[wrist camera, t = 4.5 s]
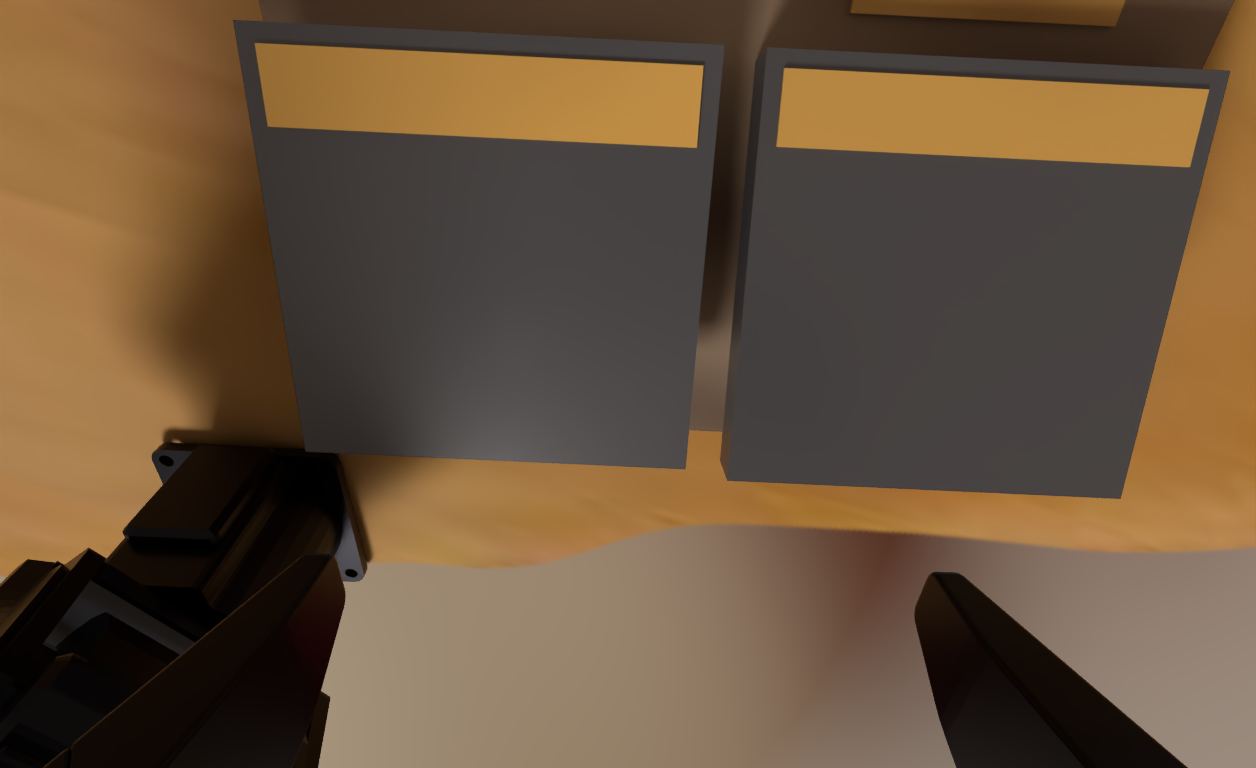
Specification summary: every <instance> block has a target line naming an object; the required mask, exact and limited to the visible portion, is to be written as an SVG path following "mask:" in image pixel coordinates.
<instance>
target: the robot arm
mask: <svg viewBox="0 0 1256 768" xmlns="http://www.w3.org/2000/svg"><path fill="white" fill-rule="evenodd" d="M152 461H153V463H154V465H155V467H156V470H157V472H158V474H159V476H160V478H161V480H162V483H163V485H162V487H161V488H160V489H159V490H158V491H157V492H156V493H155V494H154V496H153V497H152V498H151V499H150V500H149V501H148V502H147V503H146V504H145V506H144V507H143V508H142V509H141V510H140V511H139V512H138V513H137V515H136V516H135V517H134V518H133V519H132V520H131V521H130V522H129V523H128V525H127V526H126V527H125V528H124V530H123V534H124V536H125V538H124V540H123V541H122V542H121V543H120V544H119V545H118V546H117V548H116V549H115V550H114V551H113V552H112V553H111V554H110V556H109V557H108V558H107V559H106V558H105V557H103V556H102V555H100V554H98V553H97V552H95V551H93V550H92V549H90V548H87V549H86V550H85V551H83V552H82V553H80V554H79V555H78V556H76V557H75V558H73V559H72V560H71V561H69V562H68V563H67V564H65V565H64V564H62V563H60V562H59V561H57V562H55V563H54V562H46V561H37V560H29V559H28V560H26V561H25V562H24V563H22V564H21V565H20V566H18V567H17V568H16V569H15V570H14V571H13V572H12V573H11V574H10V575H9V576H8V577H7V578H6V579H5V580H4V581H3V582H2V583H1V584H0V768H318V764H319V758H320V753H321V747H322V742H323V736H324V731H325V724H326V719H327V714H328V708H329V702H330V697H329V696H328V695H326V694H325V693H323V692H322V691H321V688H322V685H323V681H324V678H325V674H326V670H327V667H328V663H329V660H330V656H331V652H332V648H333V645H334V641H335V638H336V634H337V630H338V627H339V623H340V620H341V616H342V612H343V609H344V605H345V588H344V584H343V581H350V582H355V581H360V580H362V579H363V577H364V575H365V573H366V571H367V563H366V559H365V555H364V551H363V547H362V543H361V539H360V535H359V531H358V527H357V524H356V520H355V516H354V512H353V508H352V504H351V500H350V496H349V492H348V488H347V484H346V480H345V476H344V472H343V468H342V464H341V461H340V459H339V457H338V456H337V455H336V454H334V453H324V452H305V449H290V448H269V447H247V446H226V445H204V444H182V443H163V444H162V445H160V446H159V447H158V448H157V449H156V450H155V451H154V452H153V454H152ZM322 463H325V464H326V465H328V466H324V465H323V464H322ZM915 623H916V628H917V632H918V636H919V639H920V644H921V648H922V652H923V656H924V660H925V664H926V668H927V672H928V676H929V680H930V684H931V689H932V692H933V697H934V701H935V704H936V708H937V712H938V716H939V719H940V722H941V725H942V728H943V731H944V734H945V737H946V740H947V743H948V745H949V748H950V751H951V754H952V757H953V759H954V762H955V765H956V768H1188V767H1186V766H1185V765H1184V764H1183V763H1181V762H1180V761H1179V760H1178V759H1177V758H1176V757H1175V756H1173V755H1172V754H1171V753H1170V752H1169V751H1168V750H1166V749H1165V748H1164V747H1163V746H1162V745H1161V744H1159V743H1158V742H1157V741H1156V740H1155V739H1153V738H1152V737H1151V736H1150V735H1149V734H1148V733H1147V732H1145V731H1144V730H1143V729H1142V728H1141V727H1140V726H1138V725H1137V724H1136V723H1135V722H1134V721H1132V720H1131V719H1130V718H1129V717H1127V715H1125V714H1124V713H1123V712H1122V711H1121V710H1120V709H1118V708H1117V707H1116V706H1115V705H1114V704H1113V703H1111V702H1110V701H1109V700H1108V699H1107V698H1105V697H1104V696H1103V695H1102V694H1101V693H1100V692H1099V691H1097V690H1096V689H1095V688H1094V687H1093V686H1091V685H1090V684H1089V683H1088V682H1087V681H1086V680H1084V679H1083V678H1082V677H1081V676H1080V675H1078V674H1077V673H1076V672H1075V671H1074V670H1073V669H1072V668H1070V667H1069V666H1068V665H1067V664H1066V663H1065V662H1063V661H1062V660H1061V659H1060V658H1059V657H1057V656H1056V655H1055V654H1054V653H1053V652H1052V651H1051V650H1049V649H1048V648H1047V647H1046V646H1045V645H1043V644H1042V643H1041V642H1040V641H1039V640H1038V639H1036V638H1035V637H1034V636H1033V635H1031V633H1029V632H1028V631H1027V630H1026V629H1024V627H1022V626H1021V625H1020V624H1019V623H1018V622H1017V621H1015V620H1014V619H1013V618H1012V617H1011V616H1009V615H1008V614H1007V613H1006V612H1005V611H1004V610H1002V609H1001V608H1000V607H999V606H998V605H997V604H995V603H994V602H993V601H992V600H991V599H990V598H988V597H987V596H986V595H985V594H984V593H983V592H981V591H980V590H979V589H978V588H977V587H976V586H974V585H973V584H972V583H971V582H970V581H969V580H967V579H966V578H965V577H964V576H962V575H960V574H958V573H954V572H933V573H931V574H930V575H929V576H928V578H927V580H926V582H925V584H924V587H923V589H922V592H921V594H920V596H919V599H918V601H917V604H916V607H915Z"/></svg>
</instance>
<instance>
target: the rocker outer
mask: <svg viewBox="0 0 1256 768" xmlns="http://www.w3.org/2000/svg"><path fill="white" fill-rule="evenodd" d="M1229 74H1230V71H1224V70H1204V69H1184V68H1164V67H1145V66H1125V65H1105V64H1085V63H1066V62H1046V61H1026V60H1007V59H987V58H967V57H947V56H928V55H908V54H888V53H868V52H849V51H829V50H809V49H790V48H770V47H767V48H766V49H765V51H764V52H763V53H762V54H761V55H760V56H759V58H758V59H757V60H756V61H755V71H754V83H753V94H752V105H751V117H750V128H749V139H748V151H747V162H746V173H745V185H744V196H743V207H742V219H741V230H740V241H739V253H738V264H737V275H736V287H735V298H734V309H733V321H732V332H731V343H730V355H729V366H728V377H727V389H726V400H725V411H724V423H723V434H722V445H721V457H720V461H721V464H722V467H723V470H724V473H725V475H726V478H727V481H747V482H768V483H790V484H812V485H833V486H855V487H877V488H898V489H920V490H942V491H963V492H985V493H1007V494H1028V495H1050V496H1072V497H1093V498H1115V499H1121V495H1122V491H1123V487H1124V483H1125V479H1126V475H1127V471H1128V468H1129V464H1130V460H1131V456H1132V452H1133V448H1134V444H1135V440H1136V436H1137V432H1138V429H1139V425H1140V421H1141V417H1142V413H1143V409H1144V405H1145V401H1146V397H1147V393H1148V390H1149V386H1150V382H1151V378H1152V374H1153V370H1154V366H1155V362H1156V358H1157V354H1158V350H1159V347H1160V343H1161V339H1162V335H1163V331H1164V327H1165V323H1166V319H1167V315H1168V311H1169V308H1170V304H1171V300H1172V296H1173V292H1174V288H1175V284H1176V280H1177V276H1178V272H1179V269H1180V265H1181V261H1182V257H1183V253H1184V249H1185V245H1186V241H1187V237H1188V233H1189V230H1190V226H1191V222H1192V218H1193V214H1194V210H1195V206H1196V202H1197V198H1198V194H1199V191H1200V187H1201V183H1202V179H1203V175H1204V171H1205V167H1206V163H1207V159H1208V155H1209V152H1210V148H1211V144H1212V140H1213V136H1214V132H1215V128H1216V124H1217V120H1218V116H1219V113H1220V109H1221V105H1222V101H1223V97H1224V93H1225V89H1226V85H1227V81H1228V77H1229Z"/></svg>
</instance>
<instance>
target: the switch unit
mask: <svg viewBox="0 0 1256 768" xmlns="http://www.w3.org/2000/svg"><path fill="white" fill-rule="evenodd" d="M1233 2H1234V0H259V3H260V7H261V12H262V16H263V20H264V22H280V23H300V24H320V25H340V26H359V27H379V28H399V29H419V30H438V31H458V32H478V33H497V34H517V35H537V36H557V37H576V38H596V39H616V40H636V41H655V42H675V43H695V44H715V45H725V46H724V57H723V68H722V79H721V90H720V100H719V111H718V122H717V133H716V144H715V154H714V165H713V176H712V187H711V198H710V208H709V219H708V230H707V241H706V251H705V262H704V273H703V284H702V295H701V305H700V316H699V327H698V338H697V349H696V359H695V370H694V381H693V392H692V403H691V413H690V424H689V430H699V431H720V432H723V423H724V411H725V400H726V389H727V377H728V366H729V355H730V343H731V332H732V321H733V309H734V298H735V287H736V275H737V264H738V253H739V241H740V230H741V219H742V207H743V196H744V185H745V173H746V162H747V151H748V139H749V128H750V117H751V105H752V94H753V83H754V71H755V61H756V60H757V59H758V58H759V56H760V55H761V54H762V53H763V52H764V51H765V49H766V48H767V47H770V48H790V49H809V50H829V51H849V52H868V53H888V54H908V55H928V56H947V57H967V58H987V59H1007V60H1026V61H1046V62H1066V63H1085V64H1105V65H1125V66H1145V67H1164V68H1184V69H1202V68H1203V66H1204V64H1205V62H1206V59H1207V57H1208V55H1209V53H1210V51H1211V49H1212V47H1213V45H1214V43H1215V40H1216V38H1217V36H1218V34H1219V32H1220V30H1221V28H1222V26H1223V24H1224V21H1225V19H1226V17H1227V15H1228V13H1229V11H1230V9H1231V7H1232V5H1233Z"/></svg>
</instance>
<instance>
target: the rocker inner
mask: <svg viewBox="0 0 1256 768" xmlns="http://www.w3.org/2000/svg"><path fill="white" fill-rule="evenodd" d="M233 22H234V28H235V34H236V40H237V46H238V52H239V58H240V64H241V70H242V76H243V82H244V88H245V94H246V100H247V106H248V111H249V117H250V123H251V129H252V135H253V141H254V147H255V153H256V159H257V165H258V171H259V177H260V183H261V189H262V195H263V201H264V207H265V213H266V219H267V225H268V231H269V237H270V243H271V249H272V255H273V261H274V267H275V273H276V279H277V284H278V290H279V296H280V302H281V308H282V314H283V320H284V326H285V332H286V338H287V344H288V350H289V356H290V362H291V368H292V374H293V380H294V386H295V392H296V398H297V404H298V410H299V416H300V422H301V428H302V434H303V440H304V446H305V452H324V453H346V454H368V455H389V456H411V457H432V458H454V459H476V460H497V461H519V462H541V463H562V464H584V465H605V466H627V467H649V468H670V469H685V467H686V457H687V446H688V435H689V424H690V413H691V403H692V392H693V381H694V370H695V359H696V349H697V338H698V327H699V316H700V305H701V295H702V284H703V273H704V262H705V251H706V241H707V230H708V219H709V208H710V198H711V187H712V176H713V165H714V154H715V144H716V133H717V122H718V111H719V100H720V90H721V79H722V68H723V57H724V46H725V45H715V44H695V43H675V42H655V41H636V40H616V39H596V38H576V37H557V36H537V35H517V34H497V33H478V32H458V31H438V30H419V29H399V28H379V27H359V26H340V25H320V24H300V23H280V22H261V21H241V20H233Z"/></svg>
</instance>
